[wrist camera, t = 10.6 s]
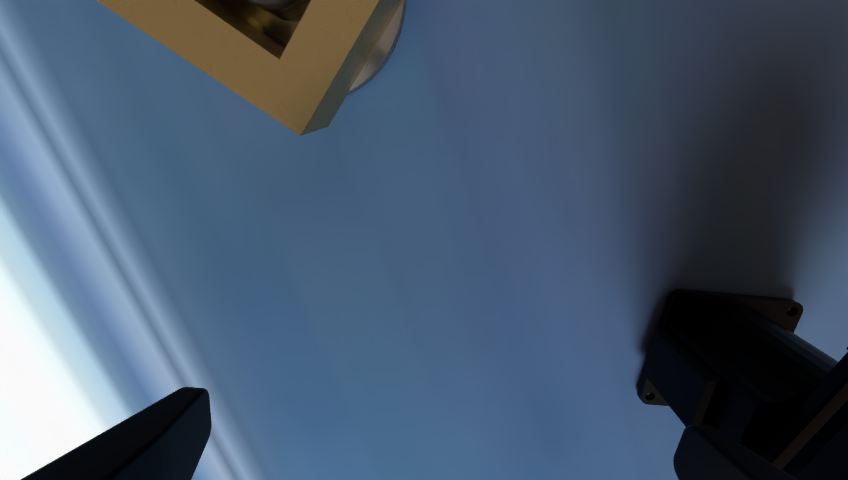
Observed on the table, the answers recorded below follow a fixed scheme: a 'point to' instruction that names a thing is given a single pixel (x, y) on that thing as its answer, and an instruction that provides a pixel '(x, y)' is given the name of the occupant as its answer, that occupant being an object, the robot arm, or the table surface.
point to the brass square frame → (271, 51)
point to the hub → (281, 13)
